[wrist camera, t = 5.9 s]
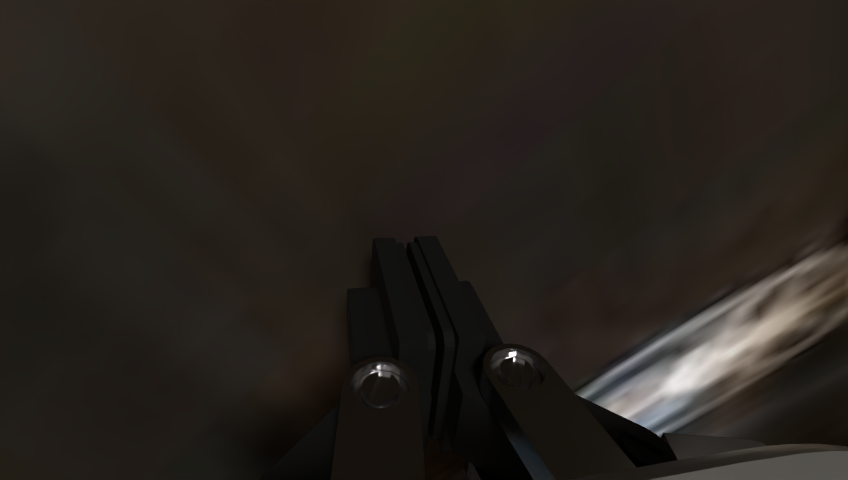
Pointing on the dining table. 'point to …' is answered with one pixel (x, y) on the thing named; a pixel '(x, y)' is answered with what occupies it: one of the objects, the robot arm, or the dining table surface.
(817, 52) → the dining table surface
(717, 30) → the dining table surface
